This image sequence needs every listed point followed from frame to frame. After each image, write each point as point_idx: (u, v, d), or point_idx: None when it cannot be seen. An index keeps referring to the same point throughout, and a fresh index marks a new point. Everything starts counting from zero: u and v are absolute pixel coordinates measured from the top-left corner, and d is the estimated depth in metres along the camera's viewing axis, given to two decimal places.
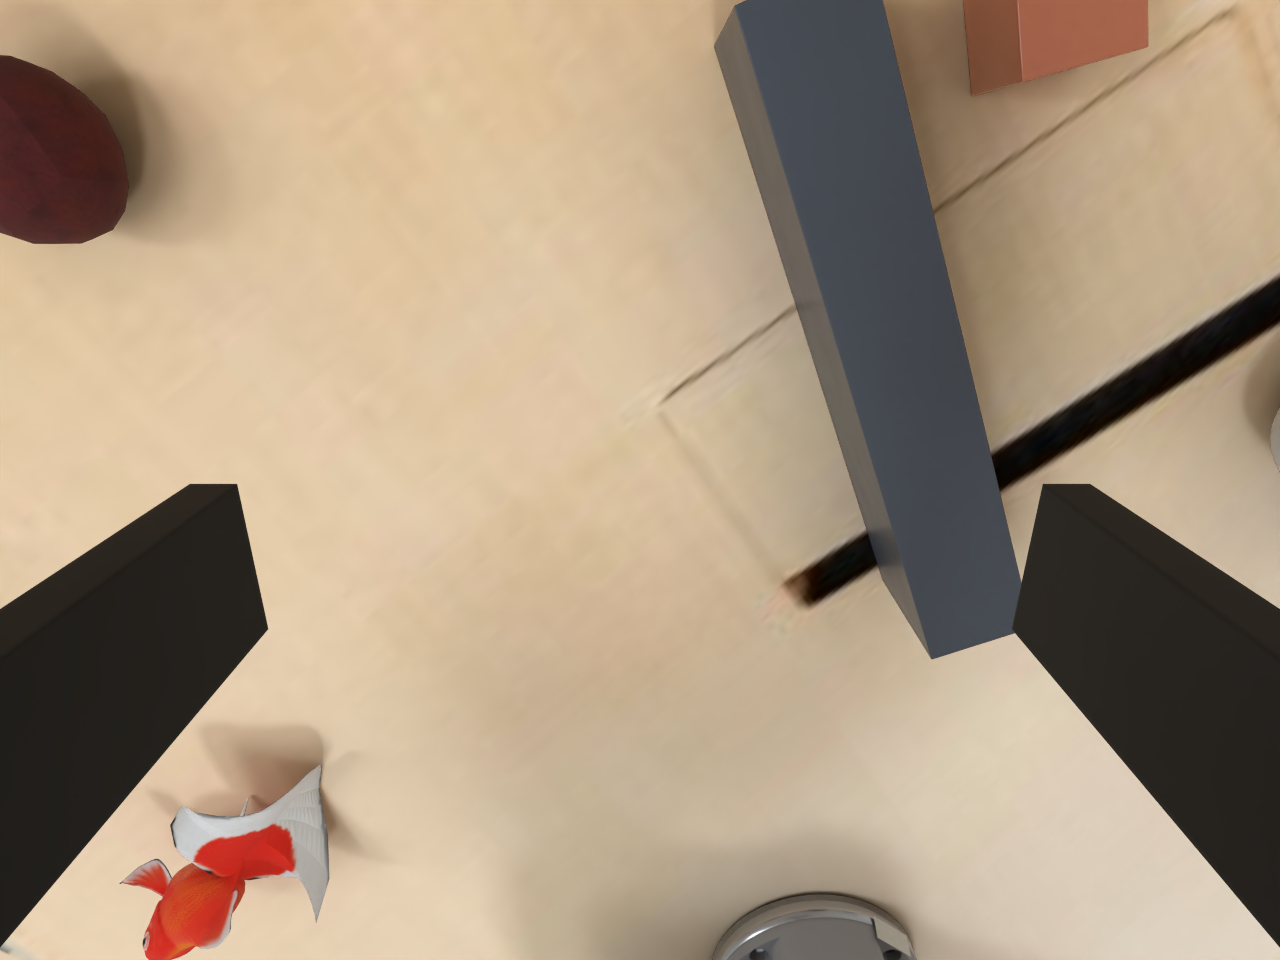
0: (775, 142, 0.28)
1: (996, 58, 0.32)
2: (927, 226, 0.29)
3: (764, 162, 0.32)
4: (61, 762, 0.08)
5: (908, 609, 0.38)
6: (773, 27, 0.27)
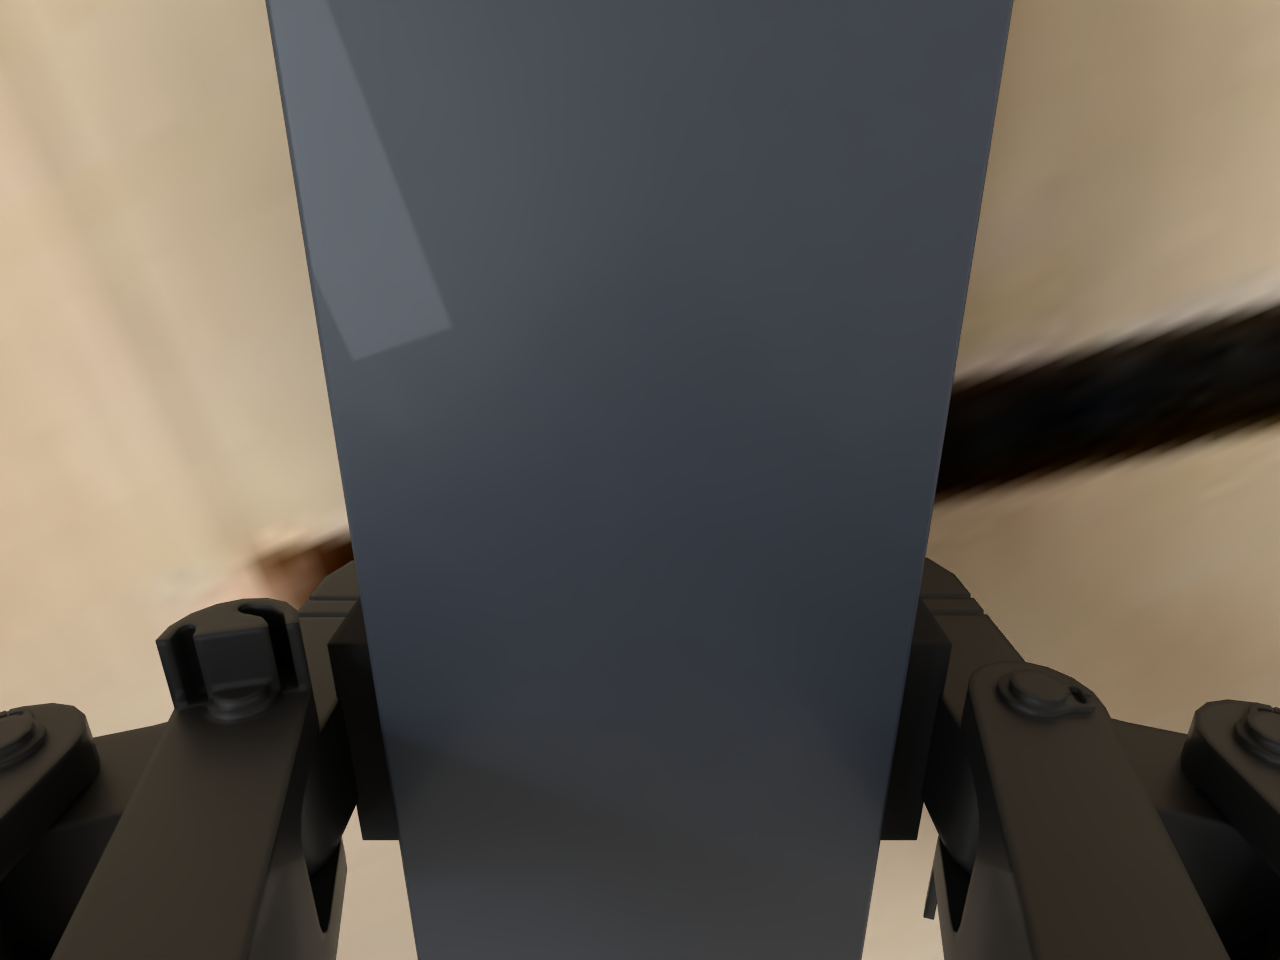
0: None
1: None
2: None
3: None
4: None
5: None
6: None
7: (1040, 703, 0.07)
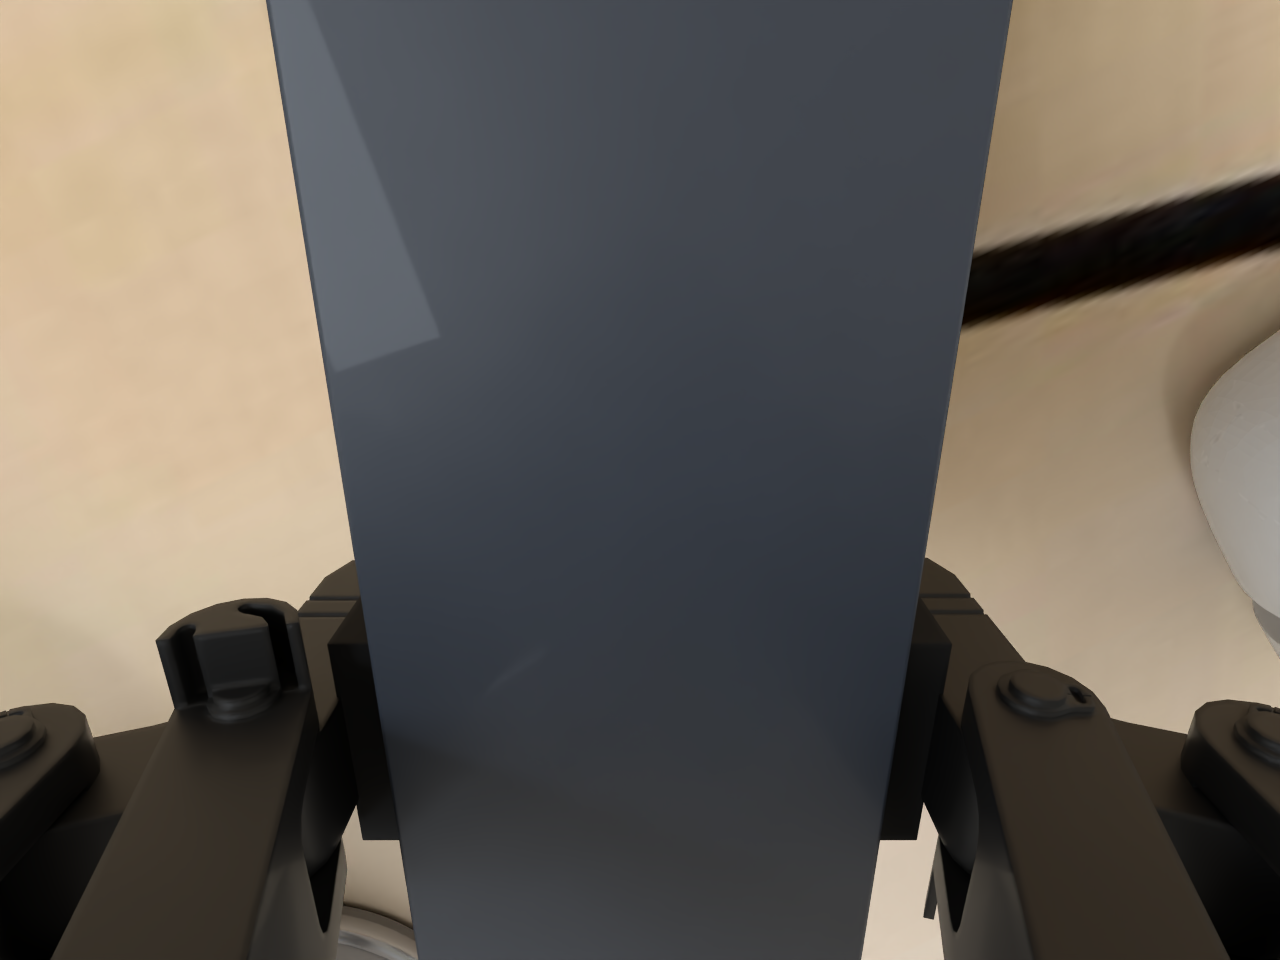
0: None
1: None
2: None
3: None
4: None
5: None
6: None
7: (1040, 703, 0.07)
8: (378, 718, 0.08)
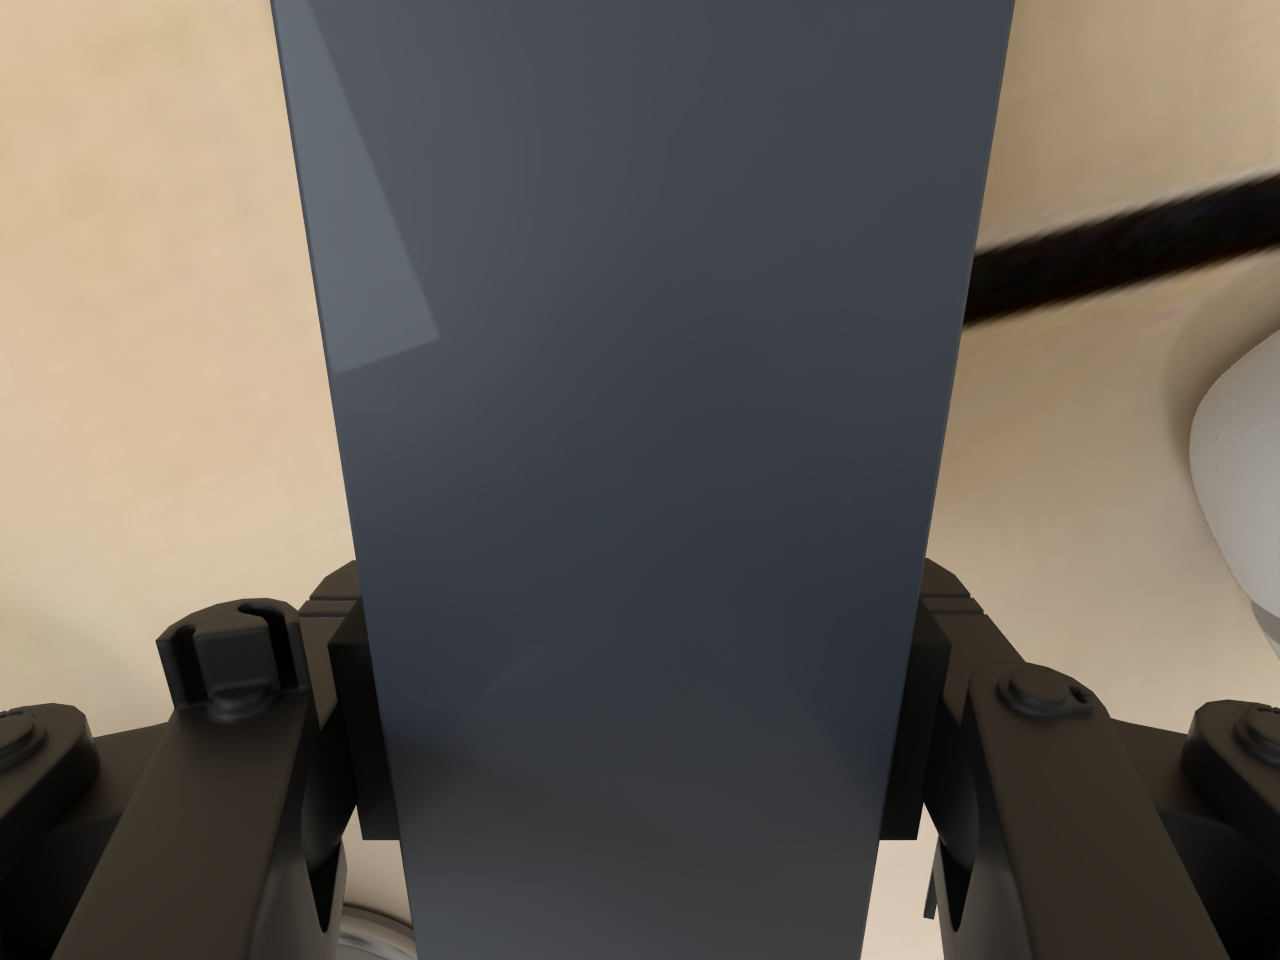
0: None
1: None
2: None
3: None
4: None
5: None
6: None
7: (1041, 702, 0.07)
8: (378, 718, 0.08)
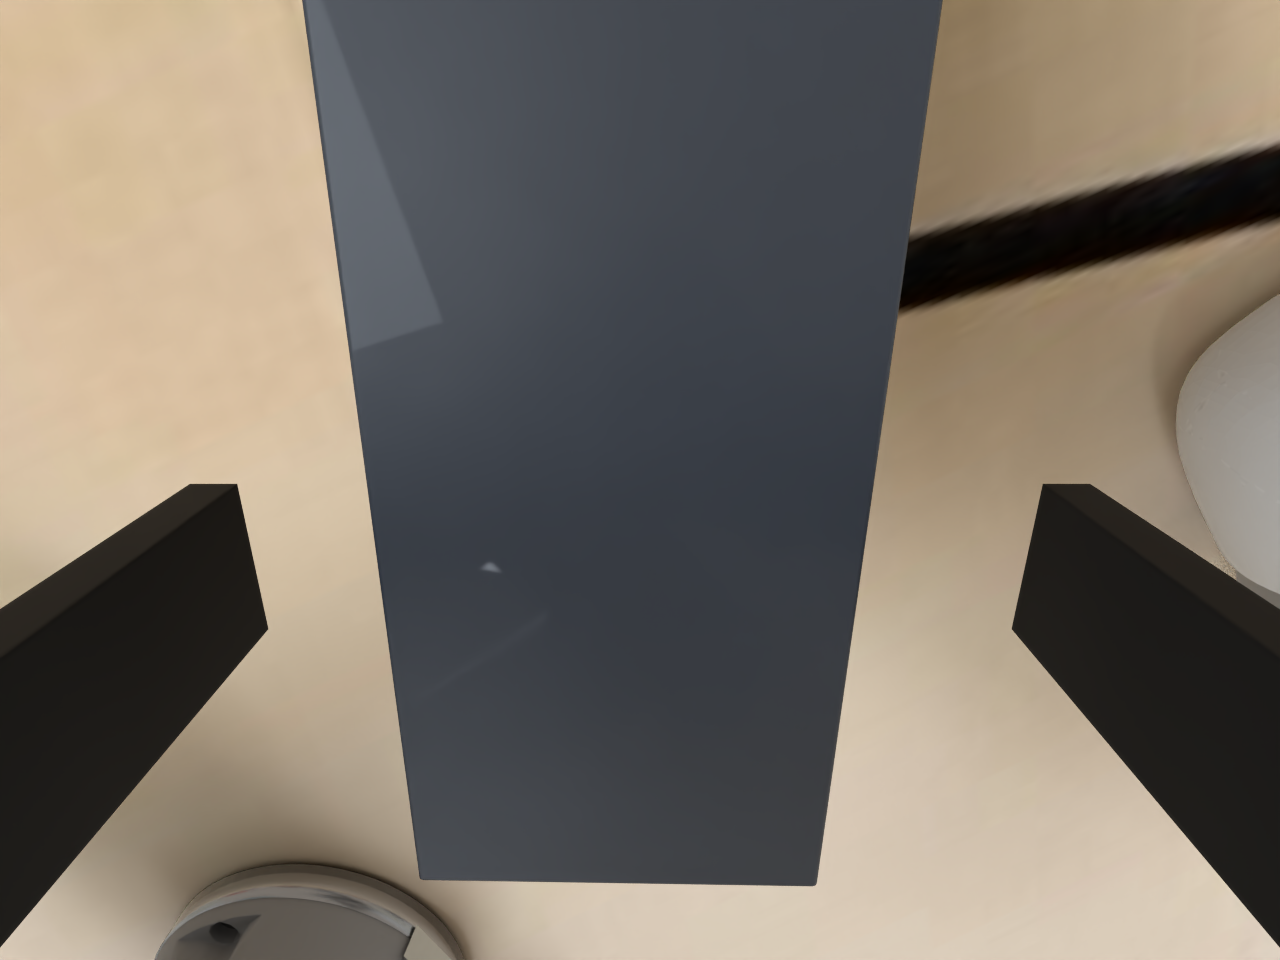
0: None
1: None
2: None
3: None
4: (61, 762, 0.08)
5: None
6: None
7: None
8: None
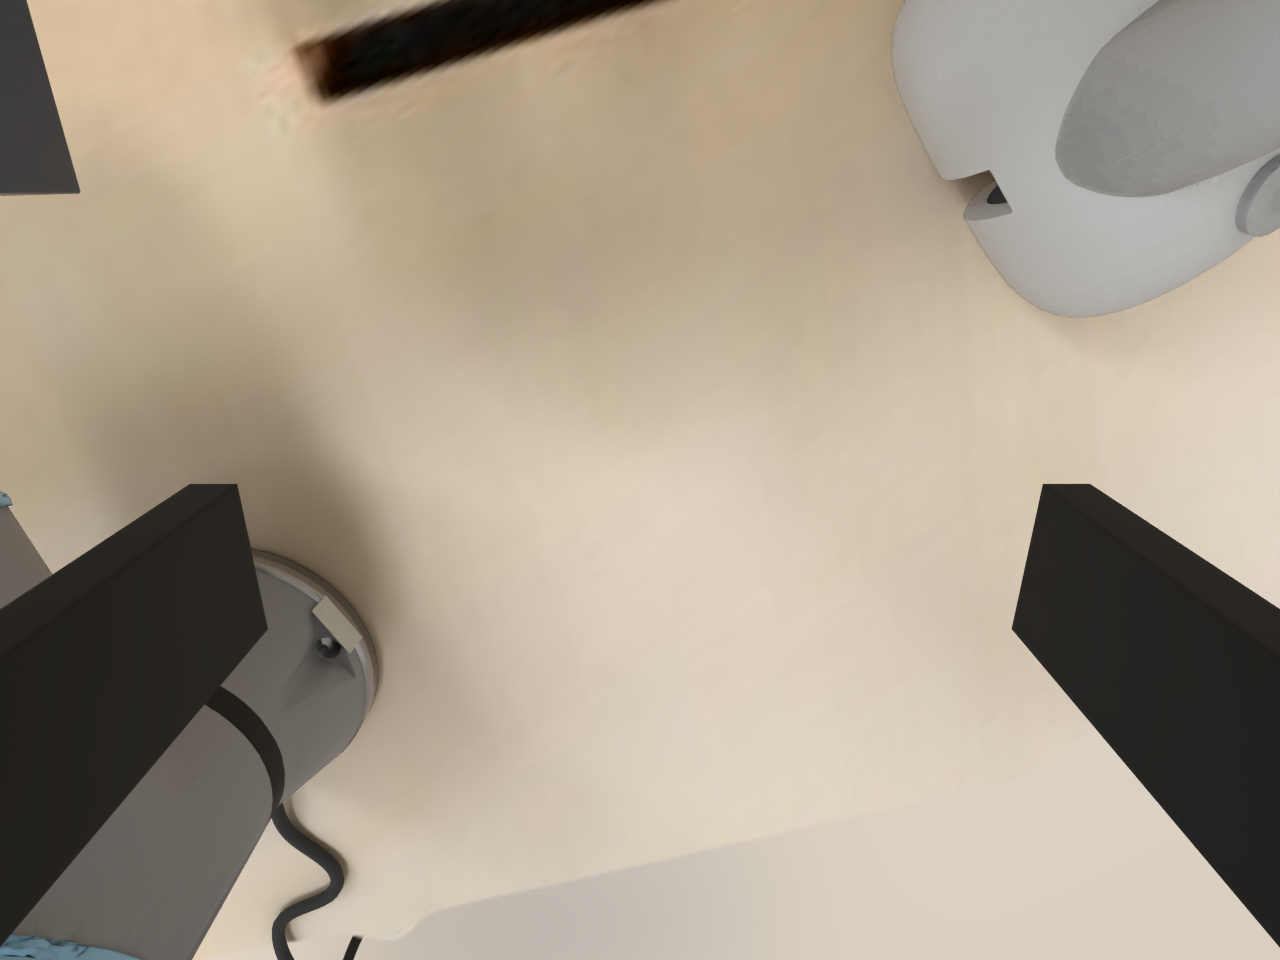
0: None
1: None
2: None
3: None
4: (60, 762, 0.08)
5: None
6: None
7: None
8: None
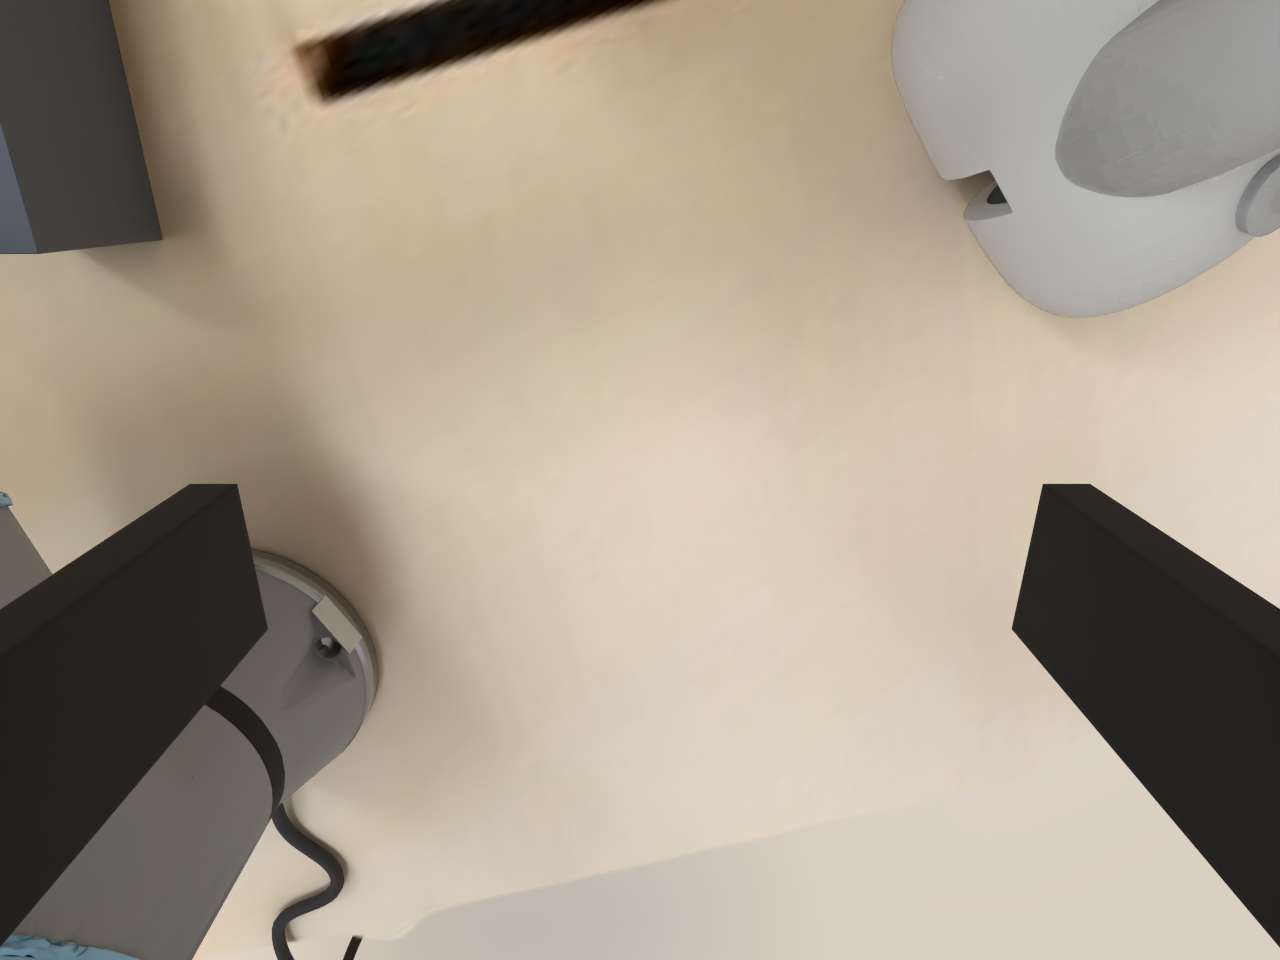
0: None
1: None
2: None
3: None
4: (60, 762, 0.08)
5: None
6: None
7: None
8: None
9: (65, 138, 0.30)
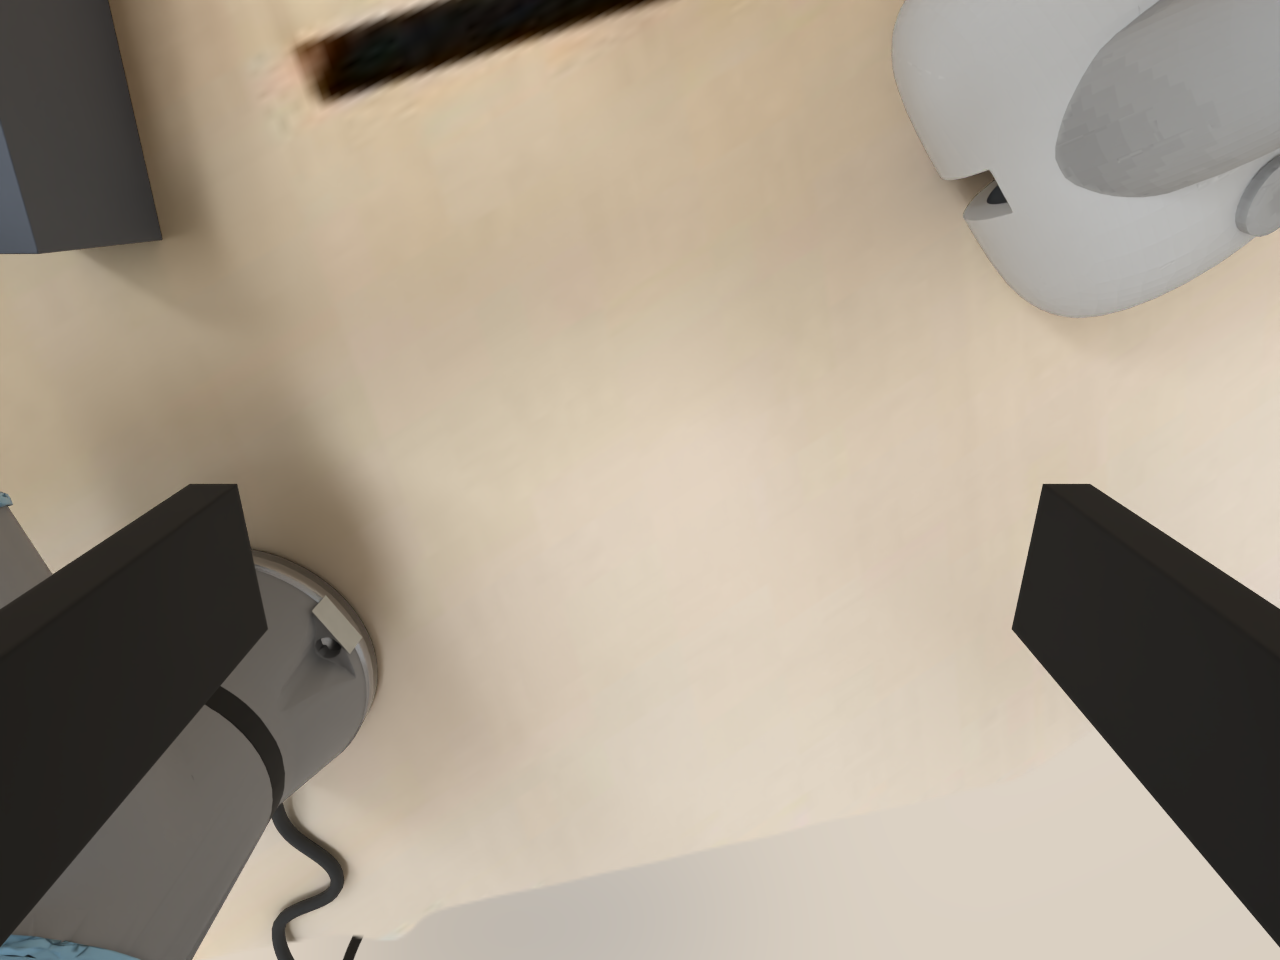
0: None
1: None
2: None
3: None
4: (60, 762, 0.08)
5: None
6: None
7: None
8: None
9: (65, 138, 0.30)
